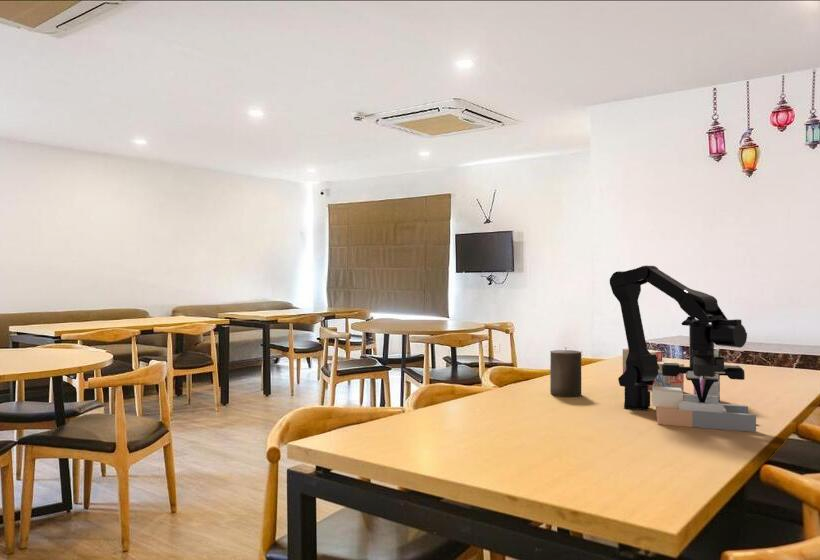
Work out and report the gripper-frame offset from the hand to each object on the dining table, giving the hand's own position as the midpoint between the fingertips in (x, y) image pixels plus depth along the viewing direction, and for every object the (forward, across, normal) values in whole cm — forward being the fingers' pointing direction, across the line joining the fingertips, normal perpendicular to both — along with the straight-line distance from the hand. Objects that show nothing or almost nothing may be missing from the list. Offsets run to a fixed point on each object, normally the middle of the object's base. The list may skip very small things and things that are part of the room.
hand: (701, 404), depth 154 cm
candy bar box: (+5, +4, +31) cm, 32 cm away
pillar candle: (+5, -37, +26) cm, 45 cm away
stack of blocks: (+5, -11, +49) cm, 50 cm away
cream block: (+1, -8, 0) cm, 8 cm away
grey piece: (+5, 0, 0) cm, 5 cm away
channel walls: (+1, -1, 0) cm, 1 cm away
